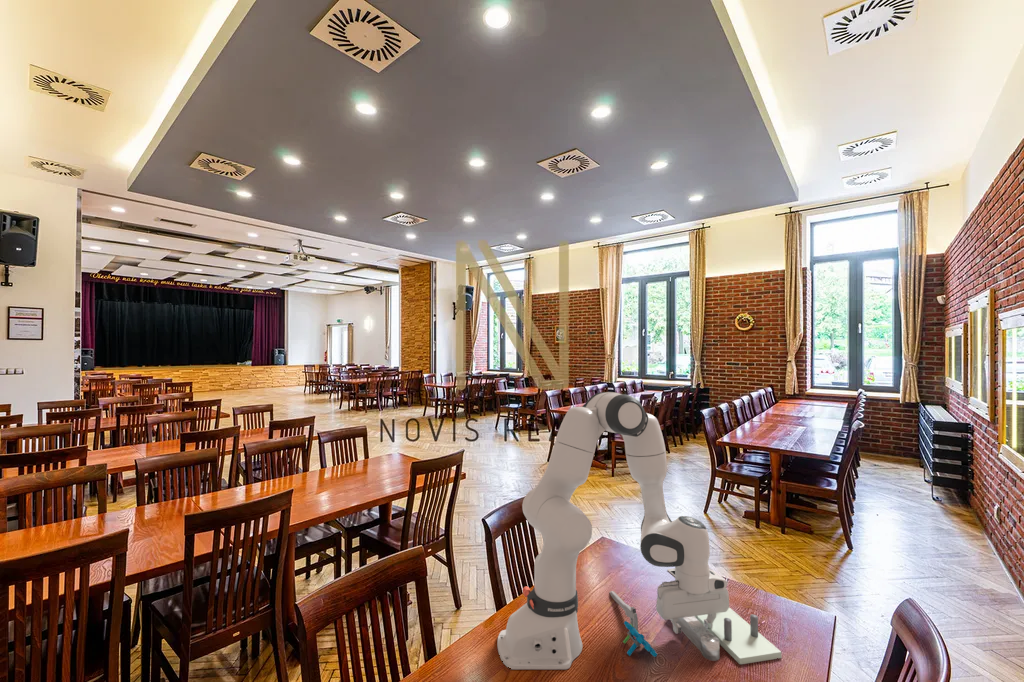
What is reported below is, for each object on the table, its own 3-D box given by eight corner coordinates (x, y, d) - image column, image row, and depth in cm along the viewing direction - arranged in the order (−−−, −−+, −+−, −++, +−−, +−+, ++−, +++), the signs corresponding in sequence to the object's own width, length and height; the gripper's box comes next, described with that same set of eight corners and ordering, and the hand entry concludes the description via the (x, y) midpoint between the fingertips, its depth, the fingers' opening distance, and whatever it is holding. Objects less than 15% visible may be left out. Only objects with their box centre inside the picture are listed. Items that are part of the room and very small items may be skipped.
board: (739, 664, 108) (739, 638, 108) (676, 600, 135) (676, 579, 136) (781, 657, 110) (781, 632, 110) (711, 596, 138) (710, 575, 138)
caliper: (638, 634, 120) (638, 611, 120) (634, 634, 120) (634, 611, 120) (612, 593, 140) (612, 573, 140) (608, 593, 140) (608, 573, 140)
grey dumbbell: (708, 661, 109) (708, 645, 109) (667, 615, 128) (666, 602, 128) (723, 659, 110) (723, 643, 110) (679, 614, 129) (679, 600, 129)
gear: (665, 660, 107) (635, 630, 108) (650, 680, 106) (620, 650, 107) (647, 637, 118) (620, 610, 119) (633, 655, 117) (606, 628, 118)
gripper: (663, 589, 114) (664, 642, 114) (732, 581, 118) (733, 632, 118) (651, 576, 120) (652, 627, 120) (717, 569, 124) (717, 618, 124)
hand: (692, 629), depth 119 cm, fingers open, 8 cm apart
